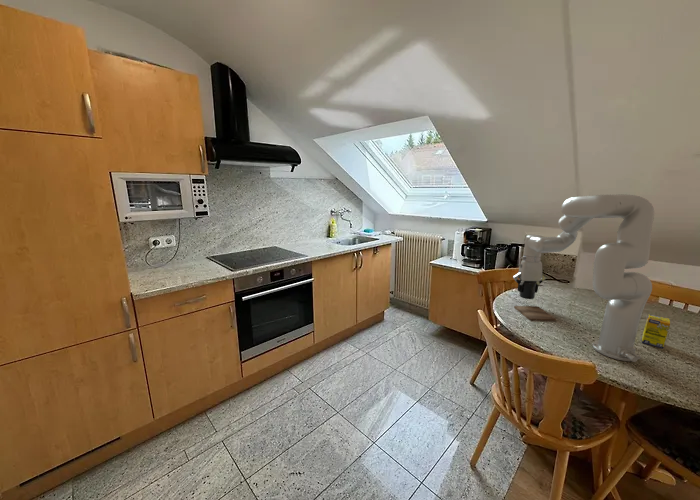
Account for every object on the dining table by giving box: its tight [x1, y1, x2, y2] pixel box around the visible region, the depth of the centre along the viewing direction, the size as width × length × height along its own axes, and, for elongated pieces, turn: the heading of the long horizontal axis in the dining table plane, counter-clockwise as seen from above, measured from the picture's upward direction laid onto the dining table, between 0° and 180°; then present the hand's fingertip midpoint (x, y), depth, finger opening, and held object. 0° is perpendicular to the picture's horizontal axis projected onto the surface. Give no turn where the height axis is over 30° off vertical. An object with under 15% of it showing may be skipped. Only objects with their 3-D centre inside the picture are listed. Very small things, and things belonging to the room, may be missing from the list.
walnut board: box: [513, 305, 557, 322], centre depth 139 cm, size 14×12×1 cm
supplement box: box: [641, 313, 671, 350], centre depth 112 cm, size 6×6×11 cm
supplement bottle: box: [519, 281, 536, 300], centre depth 148 cm, size 7×7×12 cm
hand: (527, 291), depth 148 cm, fingers closed on supplement bottle, 6 cm apart
